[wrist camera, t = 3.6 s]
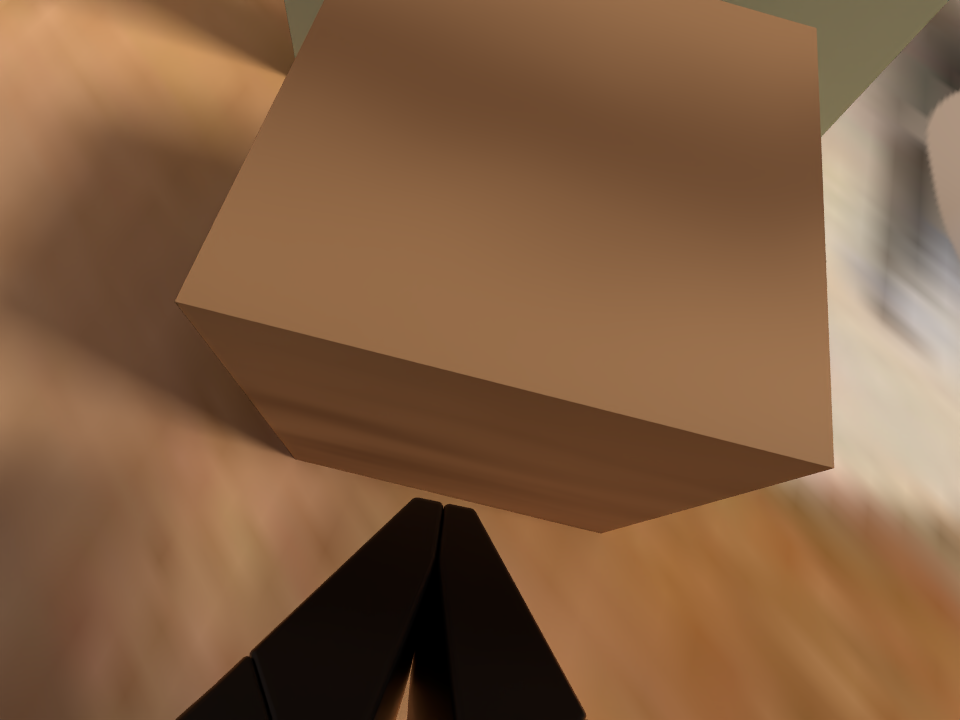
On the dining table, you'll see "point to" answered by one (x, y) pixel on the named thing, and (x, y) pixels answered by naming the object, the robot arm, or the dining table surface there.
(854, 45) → the stop board
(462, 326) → the walnut block
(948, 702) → the dining table surface
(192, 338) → the dining table surface
